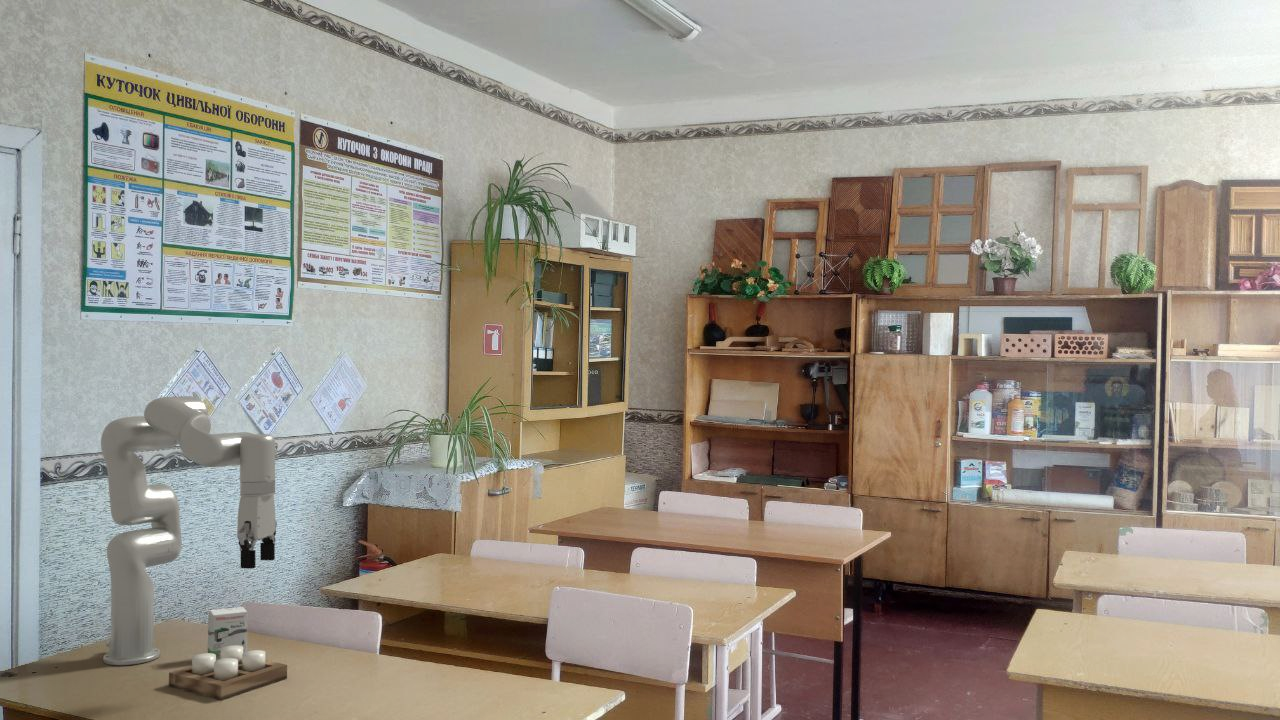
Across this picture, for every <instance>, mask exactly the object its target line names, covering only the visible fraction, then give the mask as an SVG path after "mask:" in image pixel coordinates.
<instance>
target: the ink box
mask: <svg viewBox="0 0 1280 720" xmlns="http://www.w3.org/2000/svg"><path fill="white" fill-rule="evenodd" d="M207 619H208V624H207V653H213V654H215V655H216V659H217V658H220V651H221V648H223V647H226V646H233V645H238V646H243V653H244V652H247V649H248V647H247V646H248V610H247V609H246V608H245V607H244V606H238V607H229V608H218V609H210V610H209V611H208V618H207Z"/></svg>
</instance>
